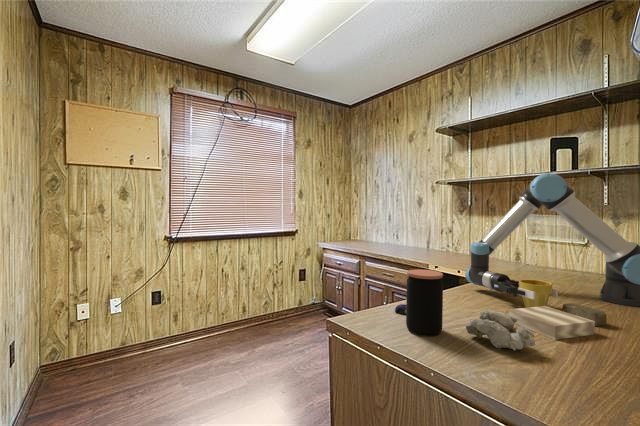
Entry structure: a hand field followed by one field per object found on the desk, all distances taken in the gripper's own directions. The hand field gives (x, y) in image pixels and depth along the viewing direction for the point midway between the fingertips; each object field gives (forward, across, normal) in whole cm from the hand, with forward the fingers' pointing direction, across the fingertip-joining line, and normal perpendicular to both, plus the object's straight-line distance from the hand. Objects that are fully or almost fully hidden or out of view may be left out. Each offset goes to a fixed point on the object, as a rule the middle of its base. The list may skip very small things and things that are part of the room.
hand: (545, 294), depth 117 cm
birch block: (+11, +12, -7) cm, 18 cm away
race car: (-12, +48, -7) cm, 50 cm away
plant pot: (-4, 0, -6) cm, 8 cm away
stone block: (+9, -6, -8) cm, 13 cm away
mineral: (+17, +39, -7) cm, 43 cm away
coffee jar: (+3, +53, -7) cm, 54 cm away
